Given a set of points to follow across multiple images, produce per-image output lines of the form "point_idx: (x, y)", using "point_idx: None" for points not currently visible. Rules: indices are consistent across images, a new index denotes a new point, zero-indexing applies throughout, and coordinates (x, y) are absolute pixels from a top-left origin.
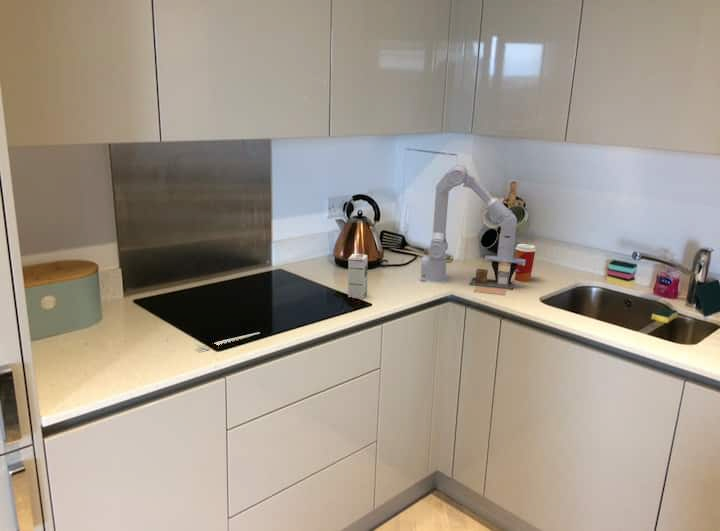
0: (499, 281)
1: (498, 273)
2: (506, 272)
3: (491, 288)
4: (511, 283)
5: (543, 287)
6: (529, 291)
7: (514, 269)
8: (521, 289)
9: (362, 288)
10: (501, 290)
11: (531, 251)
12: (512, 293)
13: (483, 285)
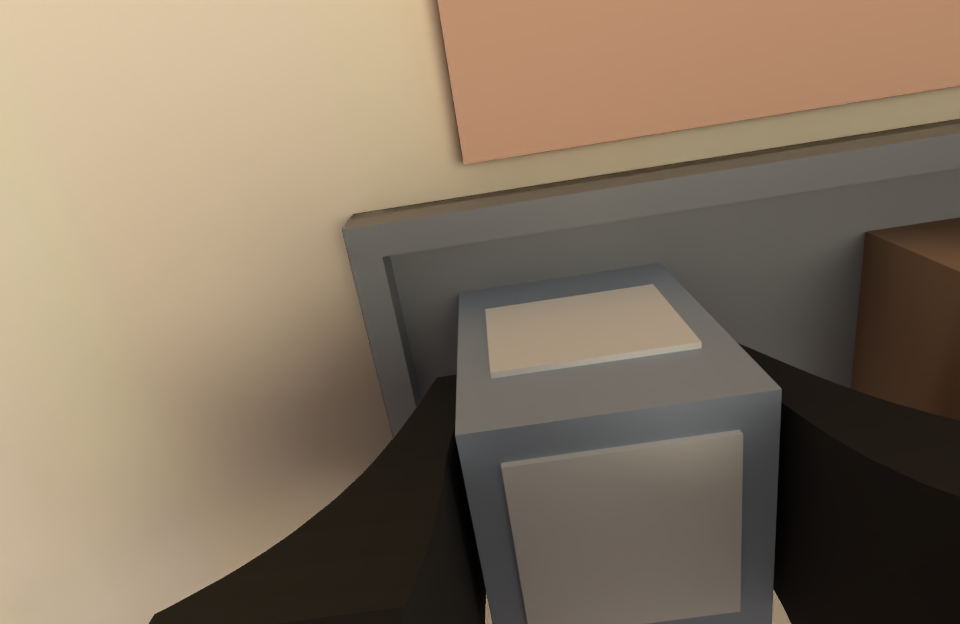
0: (646, 303)
1: (765, 417)
2: (559, 581)
3: (751, 43)
4: None
5: (8, 606)
6: (89, 335)
7: (241, 583)
8: (242, 372)
9: None
10: (530, 12)
11: None
12: (304, 48)
13: (930, 130)
